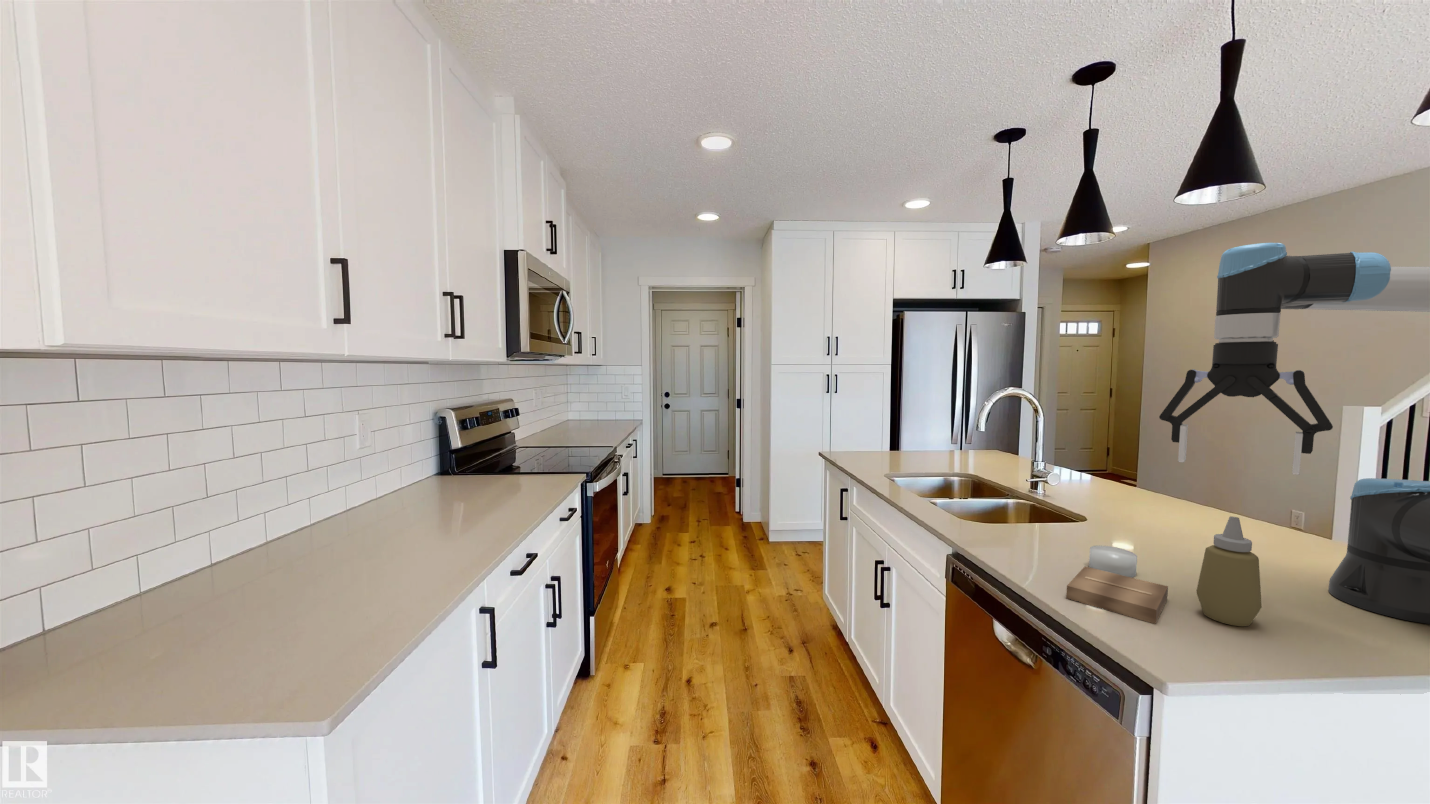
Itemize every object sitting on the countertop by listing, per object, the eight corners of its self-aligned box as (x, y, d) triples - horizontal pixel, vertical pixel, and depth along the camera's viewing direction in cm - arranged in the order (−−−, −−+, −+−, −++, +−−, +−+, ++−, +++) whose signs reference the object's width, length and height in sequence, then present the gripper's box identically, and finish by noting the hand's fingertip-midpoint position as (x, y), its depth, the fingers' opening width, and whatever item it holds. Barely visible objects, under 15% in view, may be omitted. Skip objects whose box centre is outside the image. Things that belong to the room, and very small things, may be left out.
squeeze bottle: (1239, 634, 85) (1247, 527, 83) (1183, 611, 92) (1190, 512, 91) (1272, 626, 87) (1281, 522, 85) (1214, 604, 95) (1222, 508, 93)
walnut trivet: (1167, 599, 97) (1168, 585, 97) (1155, 624, 88) (1156, 609, 88) (1084, 577, 106) (1084, 565, 106) (1066, 598, 98) (1066, 584, 98)
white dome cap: (1139, 570, 110) (1140, 552, 110) (1132, 581, 105) (1133, 562, 104) (1093, 560, 116) (1094, 542, 116) (1084, 570, 110) (1085, 551, 110)
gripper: (1363, 338, 79) (1350, 474, 81) (1152, 343, 98) (1145, 454, 99) (1367, 337, 74) (1353, 483, 76) (1144, 342, 93) (1137, 459, 94)
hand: (1235, 466), depth 88 cm, fingers open, 13 cm apart
